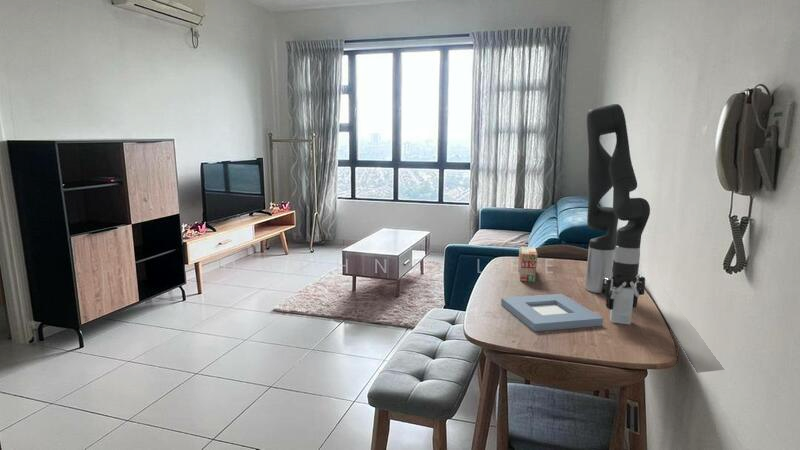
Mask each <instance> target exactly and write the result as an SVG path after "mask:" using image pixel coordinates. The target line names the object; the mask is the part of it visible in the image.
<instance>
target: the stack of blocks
mask: <svg viewBox="0 0 800 450" xmlns="http://www.w3.org/2000/svg"><path fill="white" fill-rule="evenodd" d="M537 261H538V251H537V249H536V247H535V246H520V248H519V249H518V273H519V282H527V283H536V277H537V275H536V273H537V272H536V271H537V265H538V263H537Z"/></svg>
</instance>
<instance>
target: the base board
mask: <svg viewBox="0 0 800 450" xmlns="http://www.w3.org/2000/svg"><path fill="white" fill-rule="evenodd" d="M500 299H501V300H500V301H501V302H500V305H501V306H502V307H504V308H505V309H506V310H507V311H509V312H510V313H511V314H512V315H513V316H514V317H515V318H517V319H518V320H519V321H521V323H523V324H524V325H526V327H528V328H529V329H530V330H532V331H533V332H542V331H546V332H547V331H554V330H555V331H556V330H566V329H579V328H591V327H600V326H601V327H602V326H603V323H604V318H603V317H601V316H600V315H598V314H597V313H595V312H593V311H592V310H590V309H589V308H586V307H585V306H583V305H581V304H579V303H578V302H576V301H575V300H573V299H571V298H569V297H568V296H566V295H565V294H563V293H552V294H538V295H535V294H534V295H522V296H508V297H501V298H500Z"/></svg>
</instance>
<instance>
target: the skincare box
mask: <svg viewBox="0 0 800 450" xmlns="http://www.w3.org/2000/svg"><path fill="white" fill-rule="evenodd" d="M613 289H617V288H616V287H613ZM612 293H613V292H612ZM612 293H611V294H612ZM633 298H634V288H631V287H630V288H622V289H621V291H620V292H619V293H618V294H616V295H615V297H614V298H613V299H614V304H613V309H612V310H610V313H609V319H610V322H611V323H612V324H621V325H623V324H624V325H630V326H631V325H632V317H633V309H634V308H633Z"/></svg>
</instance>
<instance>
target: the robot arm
mask: <svg viewBox="0 0 800 450" xmlns="http://www.w3.org/2000/svg"><path fill="white" fill-rule="evenodd" d="M586 130H587V131H586V133H587V142H588V143H587V144H588V163H587V164H588V168H587V172H588V173H587V174H588V175H587V177H588V178H587V180H588V181H587V182H588V183H587V185H588V201H587V202H588V204H587V219H586V220H587V221H586V222H587V223H586V224H587V227H588V228H589V230H594V231H601V232H602V231H604V232H606V234H603V235H602V236H598V237H597V236H596V237H594V238H591V239H590V240H589V243H588V253H587V263H586V264H587V265H586V273H585V274H586V275H585V285H584V286H585V287H584V289H585V290H587V291H588V292H592V293H595V294H596V293H597V294H601V296H604V297H605V298H606V301H605V307H606V309H608V310H610V311H611V310H612V309H613V304H614V299H613V298H614V297H615V295H616V294H618V293H619V292H620V291H621V289H622V288H630V287H631V288H634V298H633V308H632V309H635V308H636V307H637V306H638V300H639V297H640V296H641V295H645V288H646V286H645V285H646V277H644V276H641V275H639V271H640V270H639V267H640V261H641V243H642V242H641V241H642V236H643V232H644V230H645V228H646V225H647V222H648V220H649V217H650V215H651V206H650V203H649V201H648V200H646V199H645V198H642V197H630V193H631V192H633V191H634V190H636V189H637V188H638V181H637V178H636V173H635V170H634V168H633V167H634V166H633V163H632V160H631V159H632V158H631V151H630V143H629V136H628V128H627V122H626V116H625V113H624V110H623V107H622V106H621V105H620V104H619V103H614V104H609V105H604V106H598V107H594V108H591V109H589V110H588V112H587V115H586ZM608 134H615V138H616V142H615V146H614V150H613V153H612V155H610V154H609V152H608V151H607V150H606V149H605V148H604V146H603V145H602V144H601V141H600V137H601V136H604V135H608ZM612 188H613V191H612V192H613V194H612V207H610V206H598V205H599V203H600V202H601V200H602V199H603V197H604V196H605V195H606V194H608V192H610V190H611V189H612ZM619 221H625V222H627V221H628V222H627V223H626V225H625V226H622V227H620V228H618V223H619ZM613 287H616V288H617V289H613ZM612 292H613V293H612Z"/></svg>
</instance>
